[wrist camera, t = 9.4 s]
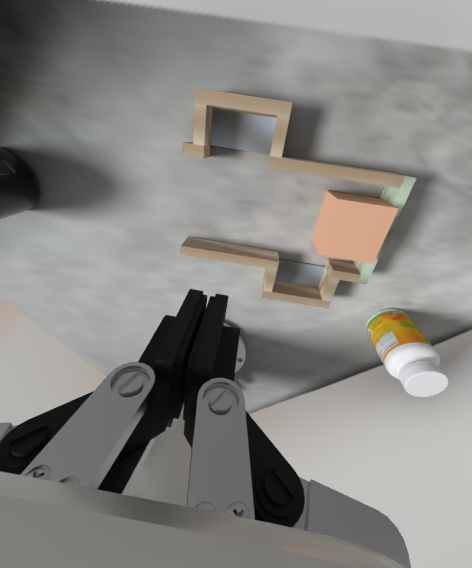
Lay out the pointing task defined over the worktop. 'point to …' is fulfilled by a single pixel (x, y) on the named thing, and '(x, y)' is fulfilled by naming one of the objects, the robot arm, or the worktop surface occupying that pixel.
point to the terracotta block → (352, 226)
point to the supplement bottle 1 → (16, 185)
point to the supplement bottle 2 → (406, 353)
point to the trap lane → (270, 140)
